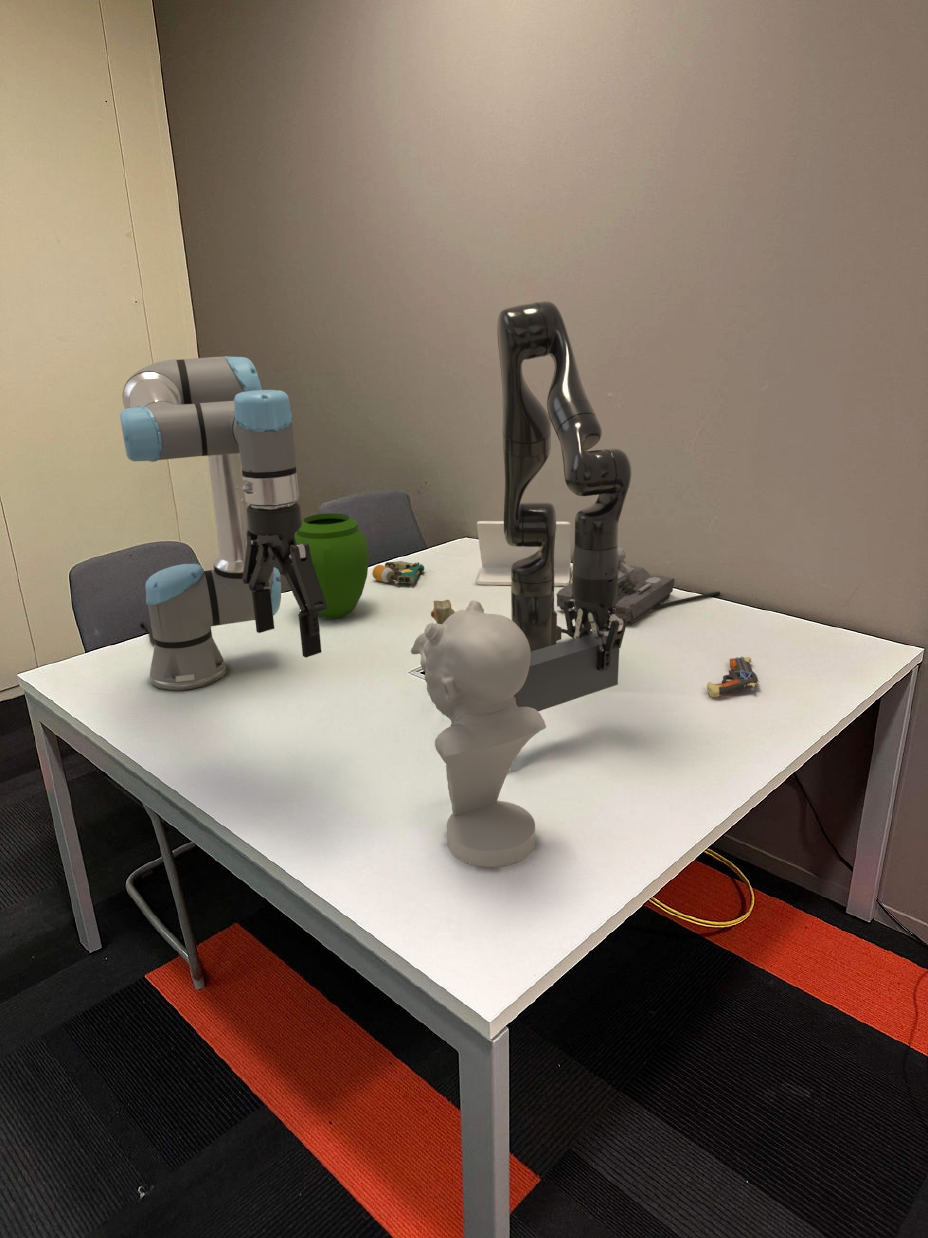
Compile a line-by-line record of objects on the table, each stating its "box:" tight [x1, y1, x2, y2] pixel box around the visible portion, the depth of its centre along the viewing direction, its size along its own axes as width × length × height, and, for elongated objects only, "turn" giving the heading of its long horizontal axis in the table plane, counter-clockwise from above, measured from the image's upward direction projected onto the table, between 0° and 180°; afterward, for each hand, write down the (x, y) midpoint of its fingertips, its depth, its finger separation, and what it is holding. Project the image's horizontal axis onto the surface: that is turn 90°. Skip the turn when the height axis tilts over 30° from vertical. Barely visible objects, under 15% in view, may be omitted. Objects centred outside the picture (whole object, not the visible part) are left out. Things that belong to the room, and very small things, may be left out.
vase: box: [292, 512, 370, 620], centre depth 209 cm, size 20×20×24 cm
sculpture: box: [430, 599, 456, 624], centre depth 177 cm, size 6×7×15 cm
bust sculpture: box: [410, 599, 547, 868], centre depth 121 cm, size 16×24×35 cm
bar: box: [514, 630, 620, 712], centre depth 144 cm, size 24×5×9 cm, turn 123°
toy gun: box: [706, 656, 760, 698], centre depth 171 cm, size 3×19×10 cm
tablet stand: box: [476, 520, 572, 587], centre depth 236 cm, size 18×25×17 cm
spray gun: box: [371, 560, 425, 585], centre depth 240 cm, size 4×17×15 cm
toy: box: [556, 546, 676, 624], centre depth 212 cm, size 25×20×15 cm
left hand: (288, 642), depth 129 cm, fingers open, 13 cm apart
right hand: (592, 664), depth 148 cm, fingers closed on bar, 4 cm apart
